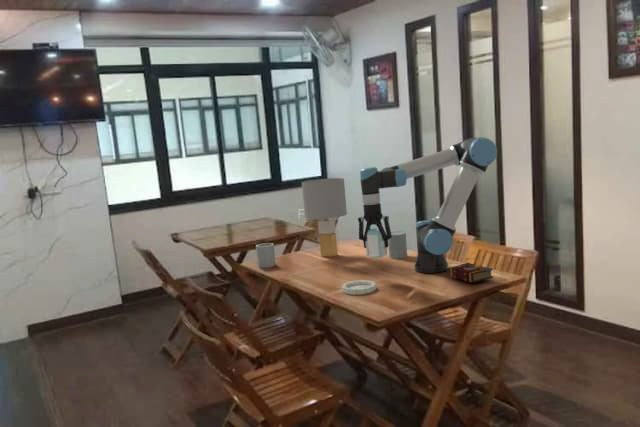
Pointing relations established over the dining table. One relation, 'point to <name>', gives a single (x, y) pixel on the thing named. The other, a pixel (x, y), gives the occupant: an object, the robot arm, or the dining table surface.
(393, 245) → the grey concrete cylinder
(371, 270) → the dining table surface
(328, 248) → the lamp
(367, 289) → the saucer
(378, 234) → the can
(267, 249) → the cup
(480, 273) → the decorative book
